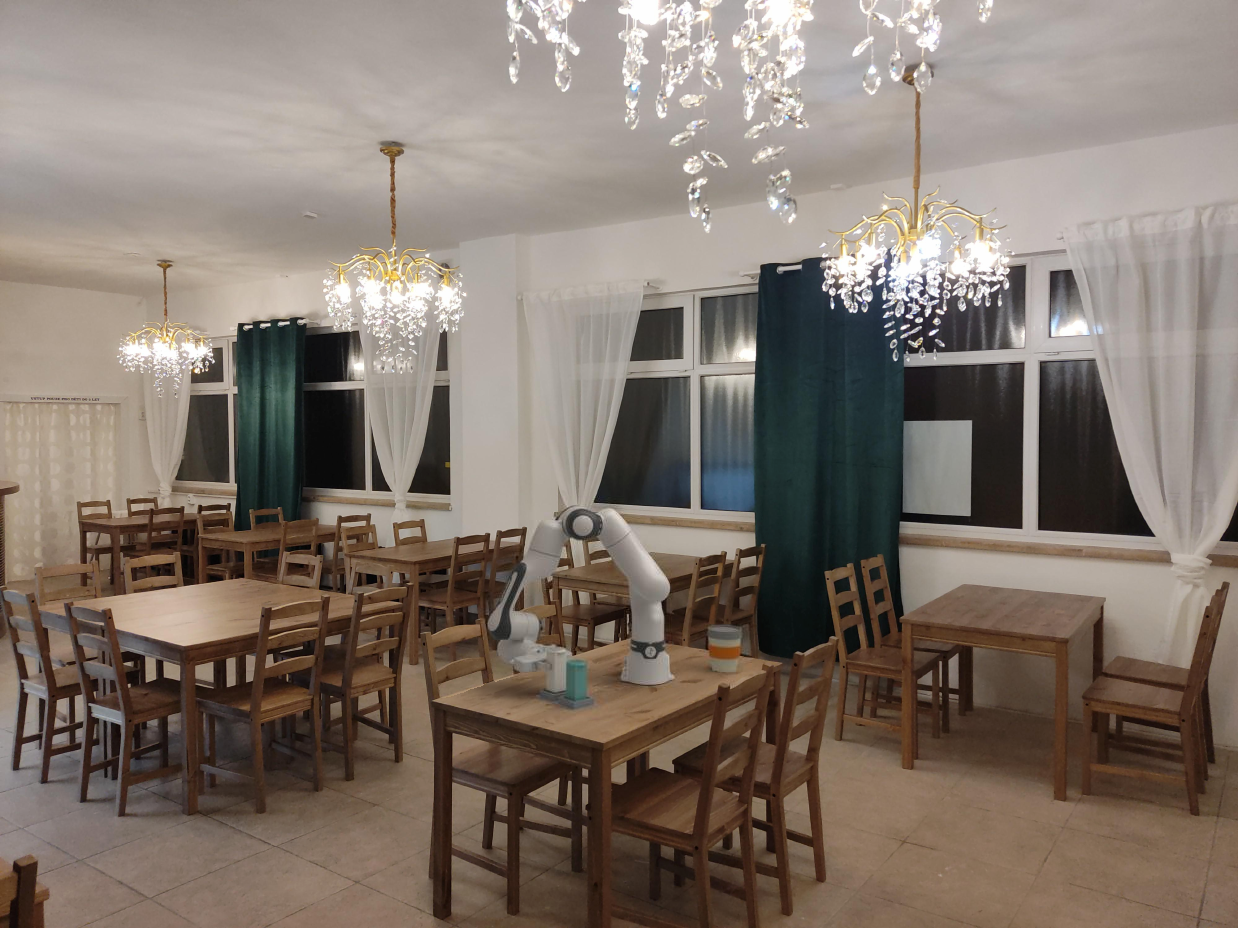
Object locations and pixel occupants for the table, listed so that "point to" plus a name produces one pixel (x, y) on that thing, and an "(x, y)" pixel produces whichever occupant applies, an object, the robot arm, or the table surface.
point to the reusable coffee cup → (724, 647)
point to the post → (556, 669)
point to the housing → (565, 700)
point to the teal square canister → (576, 680)
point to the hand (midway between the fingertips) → (558, 665)
